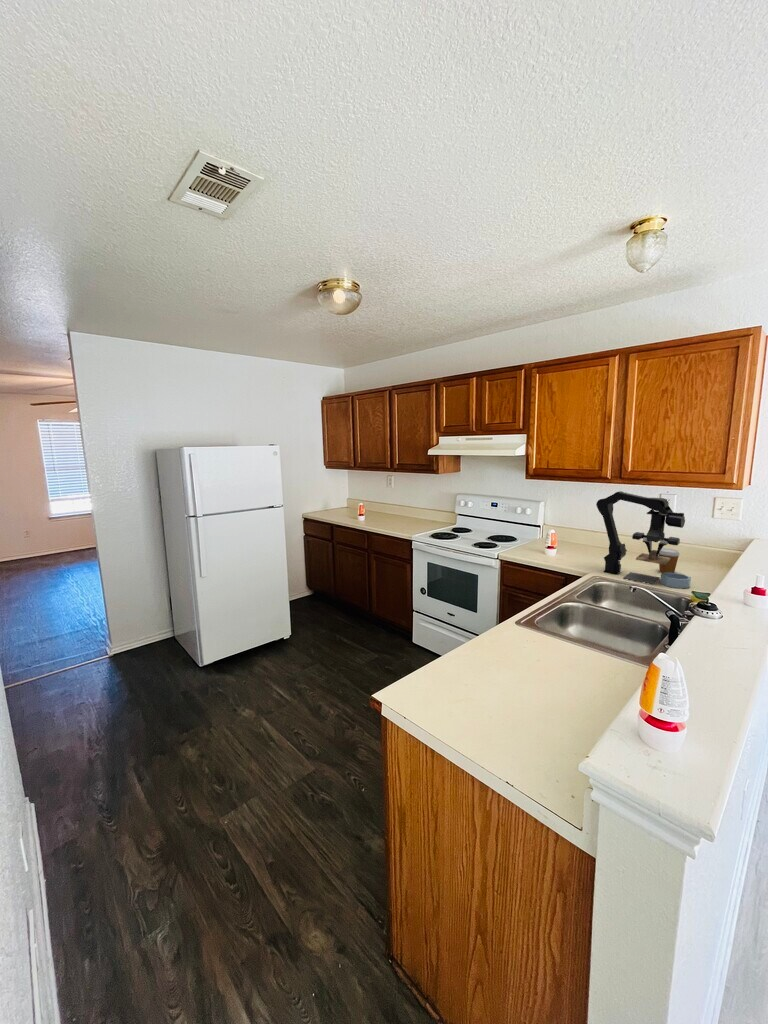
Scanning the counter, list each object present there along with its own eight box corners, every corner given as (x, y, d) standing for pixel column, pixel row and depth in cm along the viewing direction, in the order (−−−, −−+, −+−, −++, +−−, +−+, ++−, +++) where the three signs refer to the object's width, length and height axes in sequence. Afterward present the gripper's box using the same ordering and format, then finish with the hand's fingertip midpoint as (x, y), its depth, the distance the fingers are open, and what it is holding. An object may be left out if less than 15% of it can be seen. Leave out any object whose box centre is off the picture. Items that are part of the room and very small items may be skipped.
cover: (635, 559, 203) (636, 551, 203) (642, 555, 212) (643, 547, 211) (664, 564, 195) (665, 556, 194) (670, 559, 204) (671, 551, 203)
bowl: (658, 585, 198) (659, 576, 198) (663, 580, 206) (664, 571, 205) (686, 590, 191) (687, 581, 190) (691, 585, 198) (692, 575, 198)
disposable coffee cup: (681, 576, 212) (683, 553, 210) (660, 575, 214) (662, 552, 212) (672, 570, 221) (674, 548, 219) (652, 569, 223) (654, 547, 221)
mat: (623, 578, 208) (623, 577, 208) (630, 573, 217) (630, 572, 217) (653, 584, 199) (653, 583, 199) (659, 578, 208) (659, 577, 208)
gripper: (630, 523, 201) (627, 555, 204) (677, 529, 188) (672, 563, 191) (637, 520, 209) (633, 550, 212) (681, 526, 196) (677, 558, 199)
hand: (653, 555), depth 203 cm, fingers closed on cover, 2 cm apart
